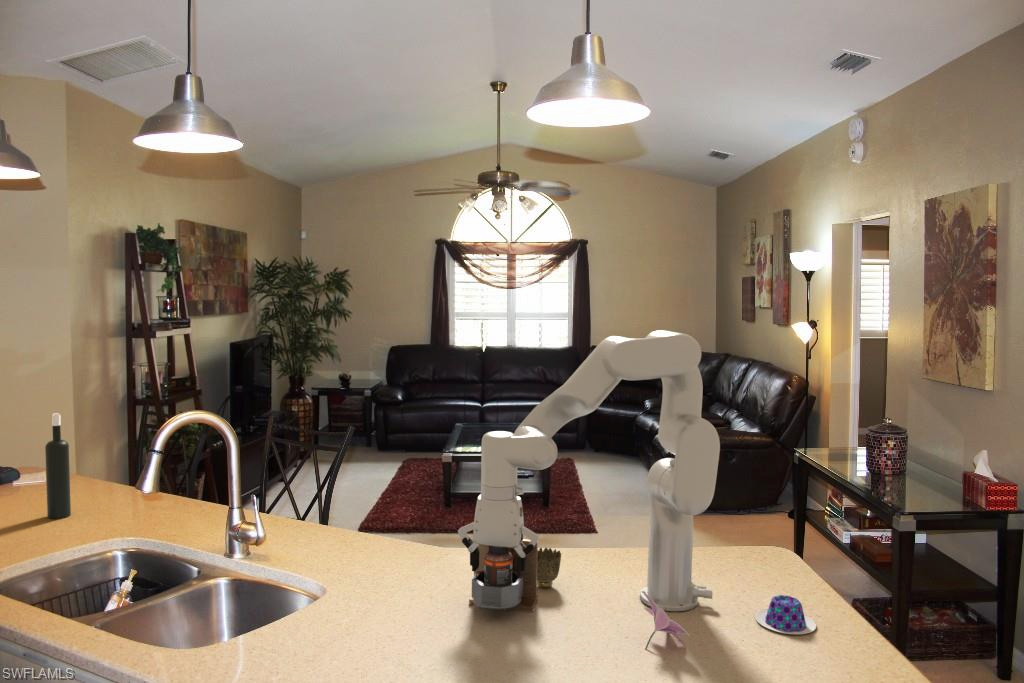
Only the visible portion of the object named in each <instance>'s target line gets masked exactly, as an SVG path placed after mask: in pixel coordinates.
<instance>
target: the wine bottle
mask: <svg viewBox="0 0 1024 683" xmlns="http://www.w3.org/2000/svg"><path fill="white" fill-rule="evenodd" d="M61 418H62V416H61V414H60V412H55V413H54V412H53V413H52V415H51V426H52V427H51V428H52V440H50V441H48V442H47V443H46V444H45V446H44V447H45V448H44V449H45V450H44V451H45V475H46V476H45V481H46V482H45V483H46V507H47V510H46V512H47V519H49V520H61V519H65V518H68V517H70V516H71V515H72V514H71V512H72V511H71V508H72V507H71V478H70V449H69V448H70V446H69V442H67V441H66V440H64V439H62V436H61V435H62V434H61V430H62V429H61V424H62V422H61V421H62V419H61Z"/></svg>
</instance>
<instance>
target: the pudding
mask: <svg viewBox="0 0 1024 683" xmlns="http://www.w3.org/2000/svg"><path fill="white" fill-rule="evenodd" d="M754 618H755V620H756V621H757V623H758V624H759V625H761V626H763V627H764V628H766V629H769V630H772V631H774V632H778V633H781V634H787V635H805V634H810V633H812V632H814V631H815V630H816V629H817V624H816V622H815V621H814V619H812V618H811V617H809V616H807V615H806V614H805V613H804V608H803V605H802V603H801V602H800V600H799V599H798V598H796V597H792V596H791V595H783V594H779V595H775V596H772V598H770V603H769V605H768V608H765V609H760V610H759V611H757V612H756V614H755V615H754Z"/></svg>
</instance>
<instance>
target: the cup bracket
mask: <svg viewBox="0 0 1024 683" xmlns="http://www.w3.org/2000/svg"><path fill="white" fill-rule="evenodd" d="M530 541H531V540H530V539H529V538H528V539H527V538H523V540H522V542H523V544H524V545H525V546H527V545H528V544H529V543H530ZM478 548H479V567H478V568H477V570H476V571H473V576H472V577H471V596H470V597H469V598H468V605H469V606H476V607H478V608H479V609H483V610H486V611H492V612H493V611H494V612H503V611H509V610H510V611H511V610H512V611H520V612H529V613H533V612H534V609H535V608H536V606H537V603H538V600H539V595H538V586H537V568H538V551H539V540H538V541H537V543H536V545H535V546H534V548H533V550H532V551H531V552H529V553H528V554H527V555H526V569H525V571H523V573H522V574H521V576H518V575H517V558H518V556H519V554H518V553H517V552H516V550H515V549H514V548H508V552H510V553H511V554H512V558H513V566H512V568H513V569H512V584H508V585H504V586H495V585H486V584H484V558H485V554H486V553H487V552H488V551H489V546H486V545H479V546H478Z"/></svg>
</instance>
